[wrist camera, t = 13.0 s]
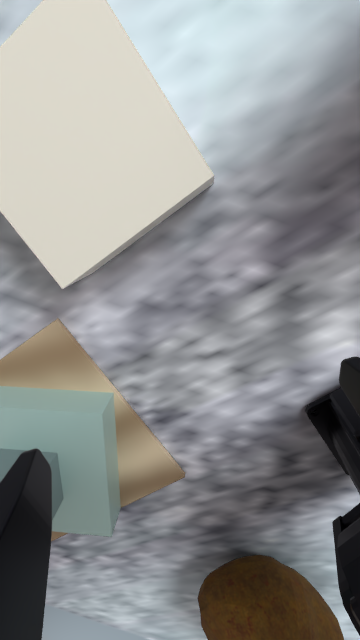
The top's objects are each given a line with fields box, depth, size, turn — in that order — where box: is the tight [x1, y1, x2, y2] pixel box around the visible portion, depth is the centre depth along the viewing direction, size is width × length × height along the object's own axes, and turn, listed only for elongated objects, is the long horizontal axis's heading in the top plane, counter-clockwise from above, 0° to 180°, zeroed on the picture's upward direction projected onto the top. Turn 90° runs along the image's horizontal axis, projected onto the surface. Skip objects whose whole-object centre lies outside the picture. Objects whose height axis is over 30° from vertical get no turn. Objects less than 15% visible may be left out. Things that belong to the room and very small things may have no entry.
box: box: [0, 0, 214, 289], centre depth 16 cm, size 9×9×4 cm
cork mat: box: [0, 319, 185, 541], centre depth 25 cm, size 15×15×1 cm
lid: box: [0, 386, 121, 537], centre depth 21 cm, size 11×11×8 cm
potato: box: [198, 555, 344, 640], centre depth 24 cm, size 8×12×8 cm, turn 64°
